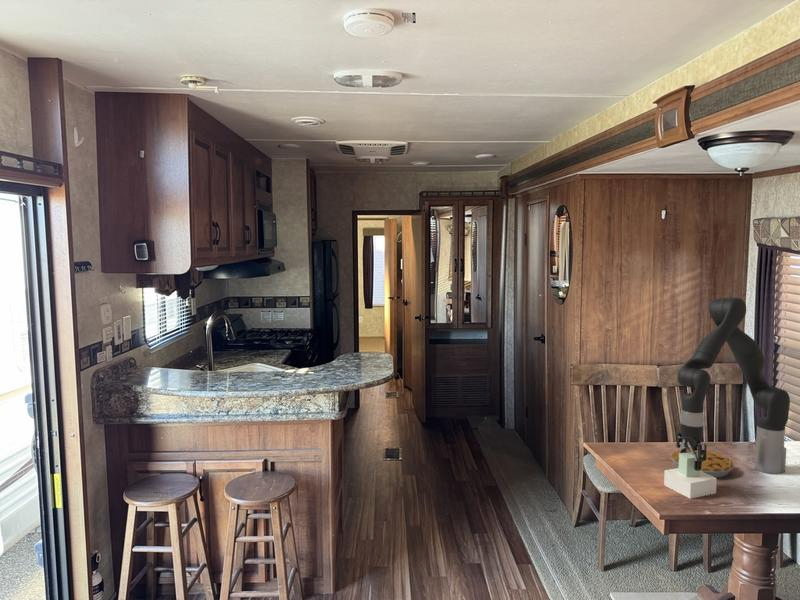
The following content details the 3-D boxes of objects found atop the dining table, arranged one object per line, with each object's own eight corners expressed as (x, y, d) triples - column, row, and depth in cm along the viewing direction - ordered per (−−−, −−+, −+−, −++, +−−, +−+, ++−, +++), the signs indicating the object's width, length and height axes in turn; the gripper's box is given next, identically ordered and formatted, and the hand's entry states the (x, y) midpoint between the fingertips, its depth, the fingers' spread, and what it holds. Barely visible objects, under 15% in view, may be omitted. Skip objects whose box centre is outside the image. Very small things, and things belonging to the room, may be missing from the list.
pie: (700, 455, 239) (700, 444, 238) (746, 475, 218) (746, 462, 218) (658, 462, 232) (659, 450, 232) (701, 483, 212) (702, 470, 211)
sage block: (691, 470, 209) (692, 452, 208) (699, 476, 204) (700, 457, 203) (678, 471, 209) (679, 453, 208) (686, 477, 204) (687, 458, 203)
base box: (689, 481, 214) (689, 465, 214) (715, 494, 203) (716, 478, 202) (664, 485, 210) (664, 470, 210) (690, 499, 199) (690, 483, 199)
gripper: (714, 428, 198) (712, 473, 199) (689, 416, 212) (688, 457, 213) (694, 429, 197) (692, 474, 198) (670, 417, 211) (669, 458, 213)
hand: (690, 465), depth 206 cm, fingers open, 8 cm apart
